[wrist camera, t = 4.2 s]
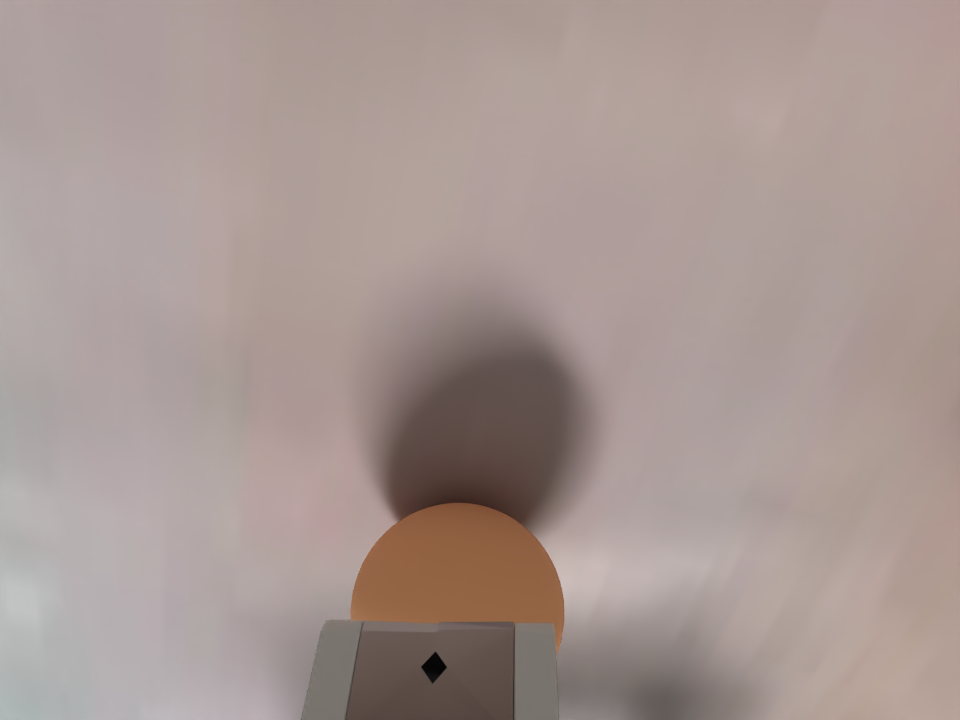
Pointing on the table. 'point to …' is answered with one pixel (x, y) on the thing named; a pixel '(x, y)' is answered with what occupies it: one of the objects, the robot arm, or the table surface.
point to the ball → (459, 571)
